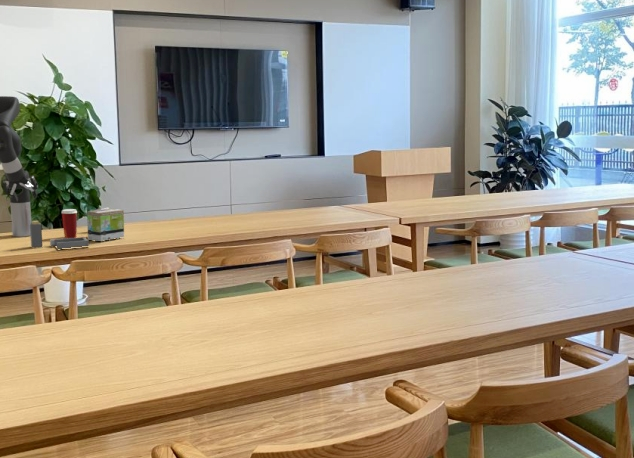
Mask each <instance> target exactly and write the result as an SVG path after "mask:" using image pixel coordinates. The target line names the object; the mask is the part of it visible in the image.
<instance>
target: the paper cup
mask: <svg viewBox="0 0 634 458" xmlns="http://www.w3.org/2000/svg"><path fill="white" fill-rule="evenodd" d="M60 213H61V217H62V218H61V219H62V227H63V236H64V239H65V238H77V234H78V233H77V231H78V229H77V223H78V222H77V219H78V218H77V216H78V215H77V213H78V211H77V209H73V208H67V209H65V208H64V209H62V210H61V212H60Z"/></svg>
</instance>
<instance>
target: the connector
mask: <svg viewBox="0 0 634 458" xmlns="http://www.w3.org/2000/svg"><path fill="white" fill-rule="evenodd" d="M42 233H43V232H42V223H41V222H39V220H31V223H30V247H31V246H32V247H42V246H43V234H42ZM32 247H31V248H32ZM42 248H43V247H42Z"/></svg>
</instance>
